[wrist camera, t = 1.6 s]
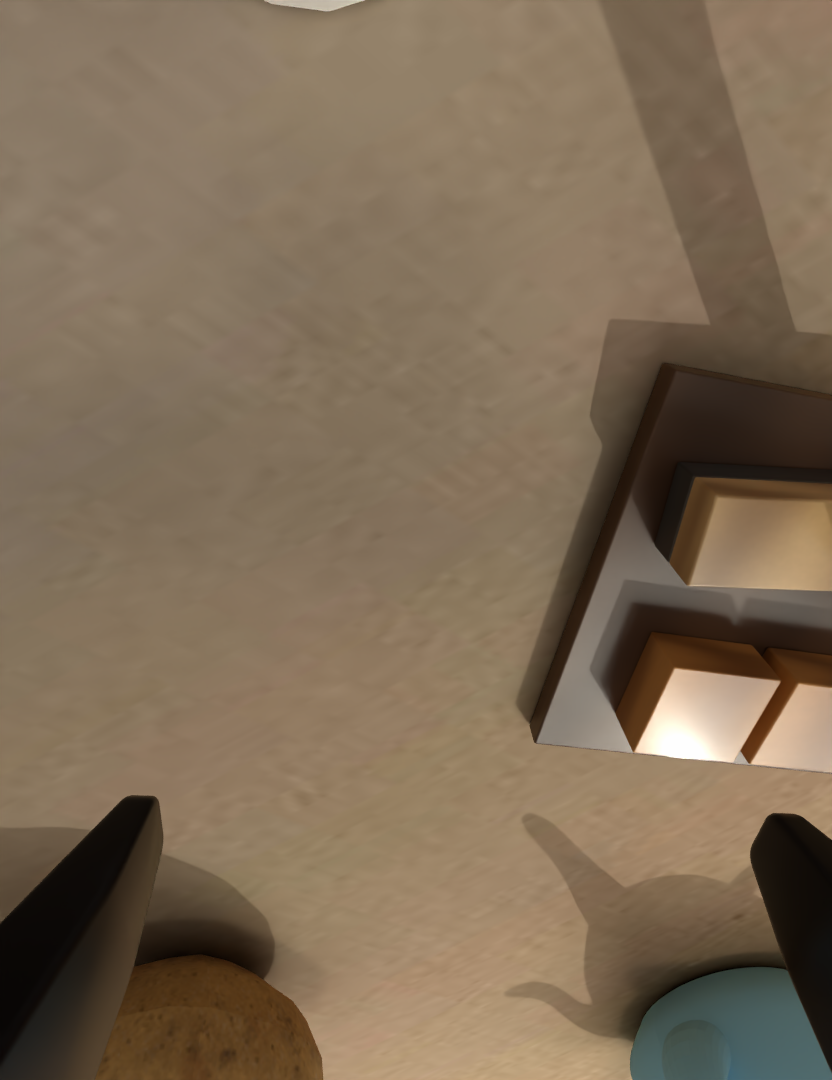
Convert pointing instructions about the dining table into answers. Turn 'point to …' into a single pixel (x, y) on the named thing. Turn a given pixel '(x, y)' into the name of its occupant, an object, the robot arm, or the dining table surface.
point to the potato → (207, 1026)
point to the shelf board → (649, 580)
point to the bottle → (315, 4)
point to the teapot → (729, 1031)
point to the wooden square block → (795, 714)
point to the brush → (749, 527)
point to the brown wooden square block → (695, 697)
